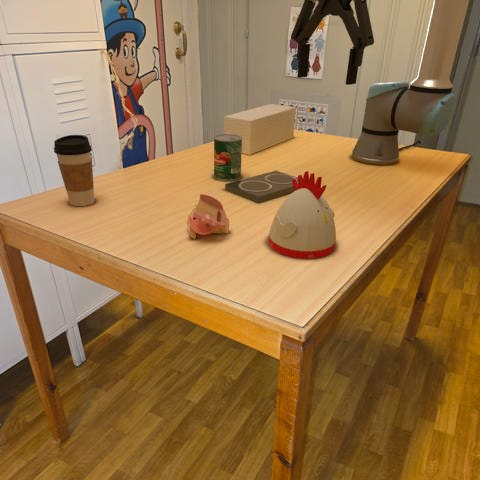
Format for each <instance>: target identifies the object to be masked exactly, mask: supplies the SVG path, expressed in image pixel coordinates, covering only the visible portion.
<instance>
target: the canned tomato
mask: <svg viewBox="0 0 480 480" xmlns="http://www.w3.org/2000/svg"><path fill="white" fill-rule="evenodd" d="M241 152H242V137H241V136H238V135H233V134H224V133H222V134H216V135H214V136H213V171H214V172H213V178H214V179H215V180H218V181H222V182H234V181H238V180H241V179H242V154H243V153H241Z"/></svg>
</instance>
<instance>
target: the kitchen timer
mask: <svg viewBox="0 0 480 480" xmlns="http://www.w3.org/2000/svg"><path fill="white" fill-rule="evenodd" d="M297 177H298V184H297V181H296V179H292V184H293V188H294V192H292V193H289V195H287V196H286V198H285V199H284V200H283V201H282V203H280V206H279V207H278V209H277V210H276V213H275V215H274V217H273V219H272V222H271V225H270V227H269V232H268V245H269V247H270V248H271V249H272V250H273V251H274V252H276V253H278V254H280V255H283V256H285V257H289V258H295V259H303V260H304V259H305V260H310V259H319V258H324V257H326V256H328V255H331V254H332V253H333V252H334V250H335V246H336V241H337V230H336V223H335V219H334V218H335V211H334V209H333V208H332V207H330V205H329V203H328V201H327V199H326V198H325V196H323V194H324V193H325V191H326V189H327V186H328V184H324V185H322V180H323V177H322V175H321V176H318V177H317V178H315V172H312V173H309V170H306V171H304V173H303V175H302V174H298V175H297Z"/></svg>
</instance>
